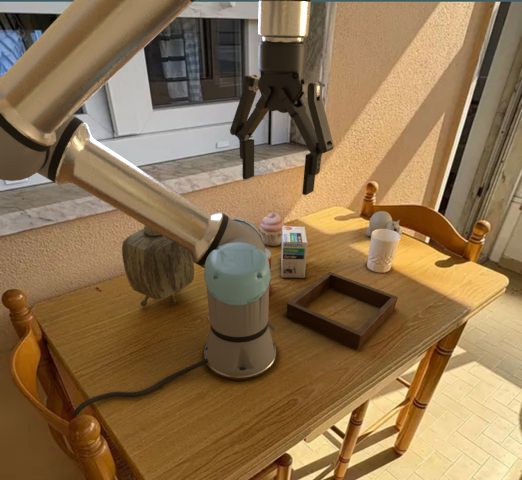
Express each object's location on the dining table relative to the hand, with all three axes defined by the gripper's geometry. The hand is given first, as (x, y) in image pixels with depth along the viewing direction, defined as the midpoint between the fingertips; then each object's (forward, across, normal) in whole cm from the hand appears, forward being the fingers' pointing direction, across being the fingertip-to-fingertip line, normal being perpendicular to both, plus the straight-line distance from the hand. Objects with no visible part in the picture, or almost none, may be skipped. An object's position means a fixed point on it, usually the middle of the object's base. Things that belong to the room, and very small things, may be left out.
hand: (276, 185), depth 72 cm
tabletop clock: (+31, +25, +10) cm, 42 cm away
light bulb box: (+31, +9, -23) cm, 40 cm away
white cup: (+31, -11, -40) cm, 51 cm away
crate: (+31, -13, -12) cm, 36 cm away
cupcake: (+31, +24, -34) cm, 52 cm away
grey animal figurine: (+31, -4, -58) cm, 66 cm away
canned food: (+31, +10, -8) cm, 34 cm away
